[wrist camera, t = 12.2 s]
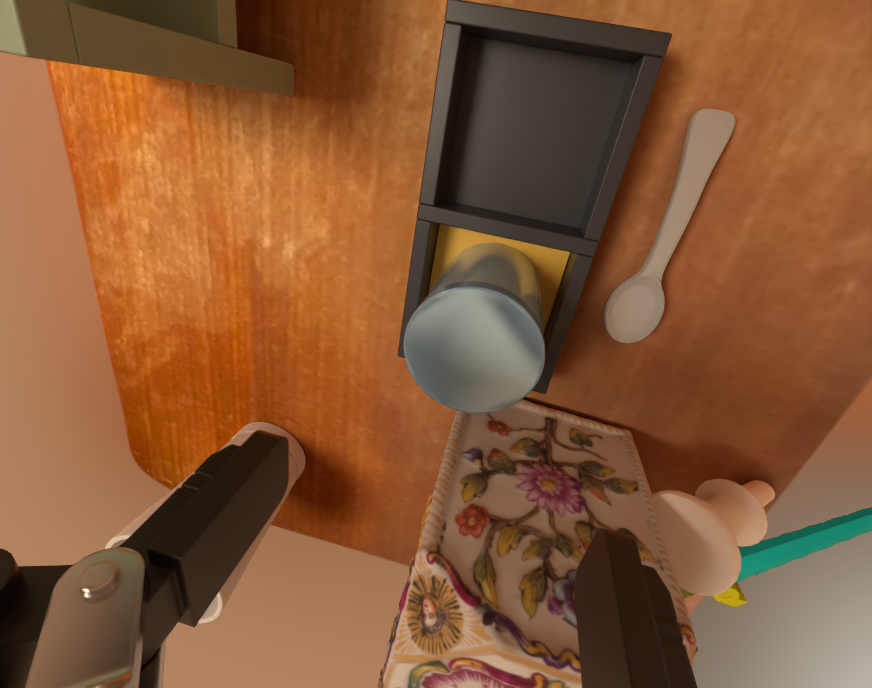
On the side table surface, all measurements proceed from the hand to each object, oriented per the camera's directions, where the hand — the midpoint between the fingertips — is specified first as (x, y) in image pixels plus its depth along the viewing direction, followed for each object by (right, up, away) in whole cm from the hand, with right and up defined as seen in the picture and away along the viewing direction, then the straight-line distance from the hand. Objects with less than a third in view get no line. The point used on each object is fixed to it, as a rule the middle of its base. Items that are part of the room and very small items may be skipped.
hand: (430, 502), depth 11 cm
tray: (+4, +11, +13) cm, 18 cm away
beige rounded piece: (+13, -6, +11) cm, 18 cm away
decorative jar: (+7, -5, +20) cm, 22 cm away
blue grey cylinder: (+3, +7, +14) cm, 16 cm away
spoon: (+12, +10, +12) cm, 20 cm away
